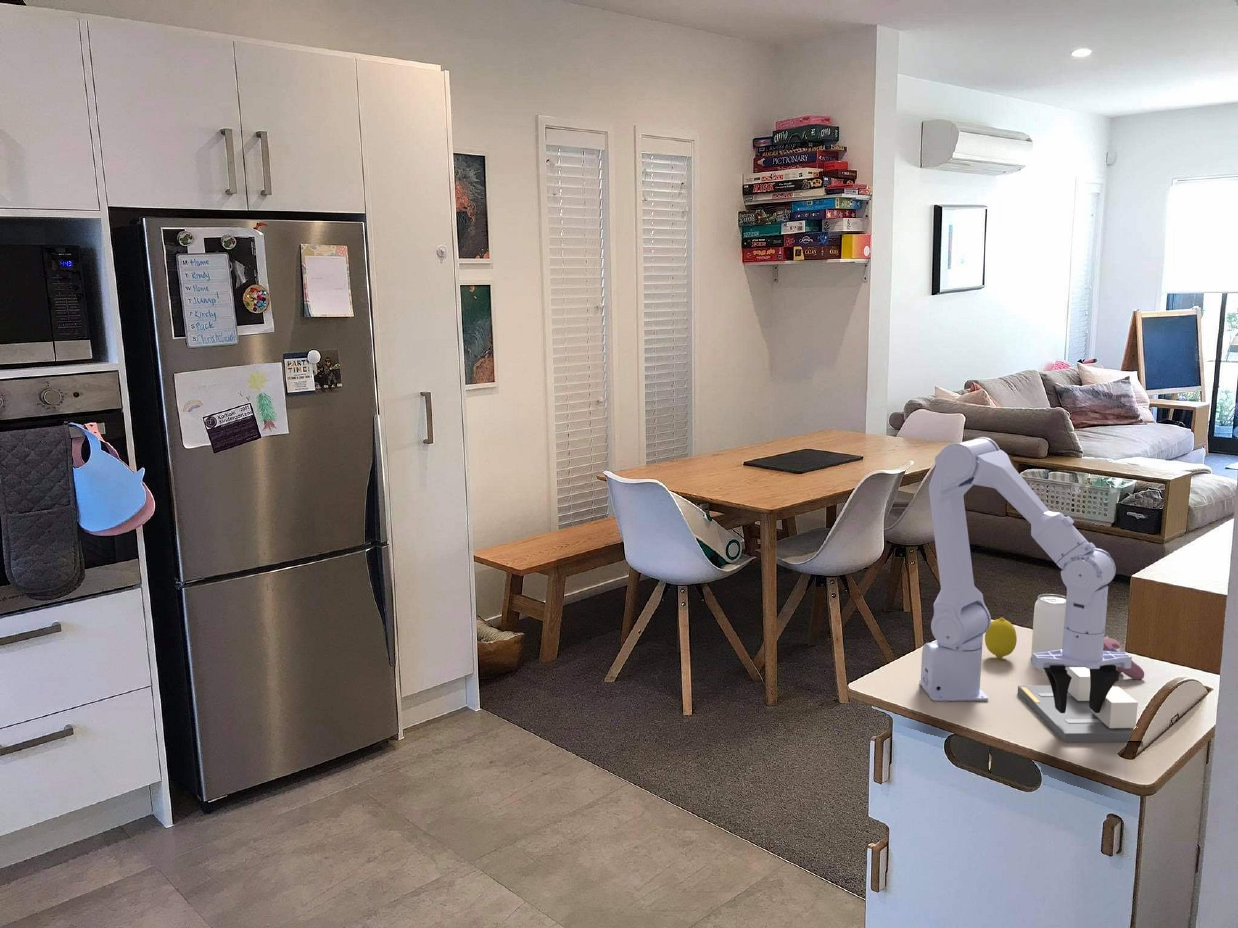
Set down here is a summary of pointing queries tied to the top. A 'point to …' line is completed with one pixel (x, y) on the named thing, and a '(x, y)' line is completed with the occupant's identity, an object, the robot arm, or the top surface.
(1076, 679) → the switch back
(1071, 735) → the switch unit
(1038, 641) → the can
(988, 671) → the top surface
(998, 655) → the lemon
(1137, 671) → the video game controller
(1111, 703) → the switch front
